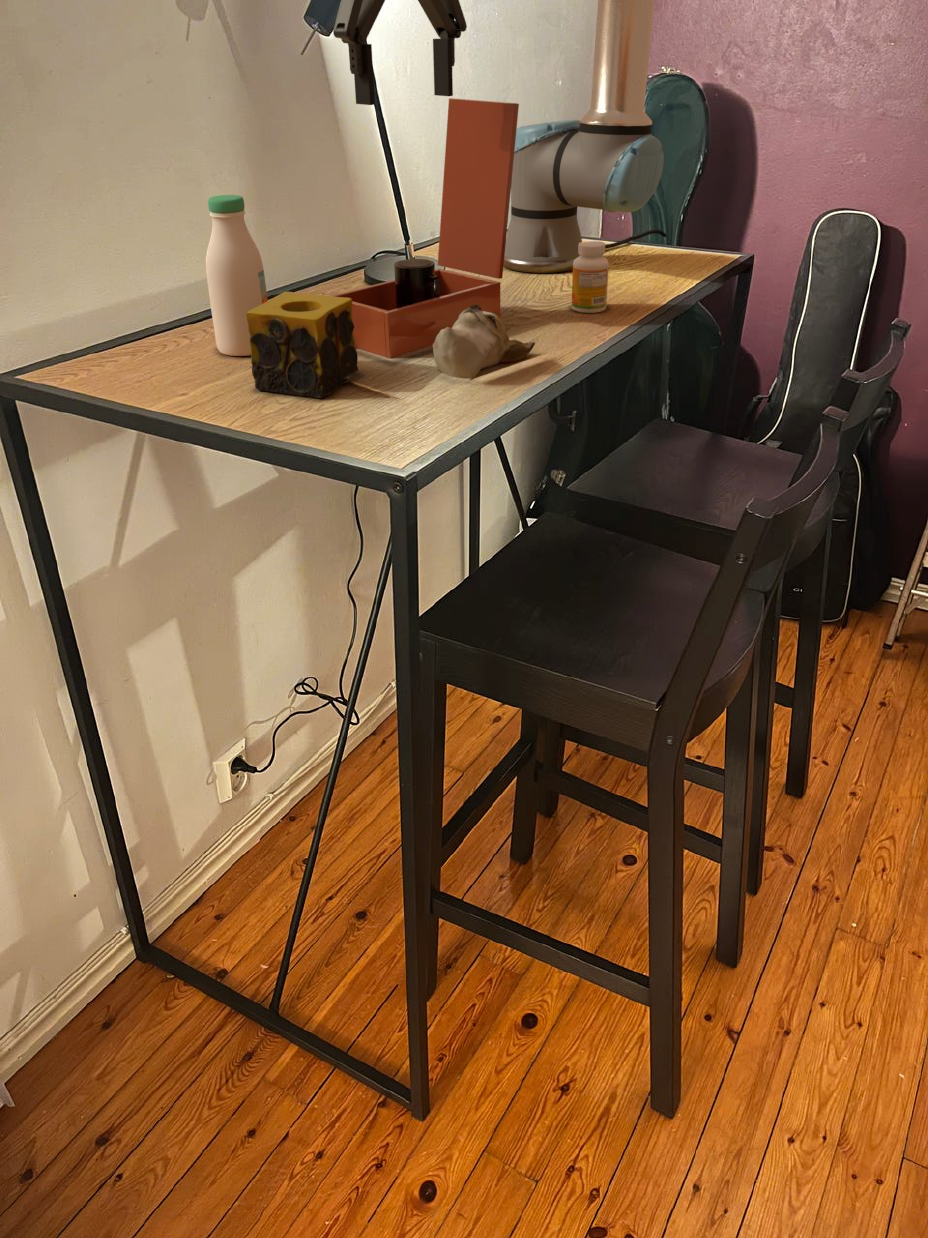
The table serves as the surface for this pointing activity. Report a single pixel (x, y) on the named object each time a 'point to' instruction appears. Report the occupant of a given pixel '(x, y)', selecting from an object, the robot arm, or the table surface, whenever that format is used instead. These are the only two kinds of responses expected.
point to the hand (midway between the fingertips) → (405, 99)
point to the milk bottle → (232, 274)
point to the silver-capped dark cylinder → (415, 281)
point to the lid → (477, 185)
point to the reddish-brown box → (415, 313)
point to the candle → (302, 344)
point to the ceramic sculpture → (475, 344)
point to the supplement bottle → (590, 278)
